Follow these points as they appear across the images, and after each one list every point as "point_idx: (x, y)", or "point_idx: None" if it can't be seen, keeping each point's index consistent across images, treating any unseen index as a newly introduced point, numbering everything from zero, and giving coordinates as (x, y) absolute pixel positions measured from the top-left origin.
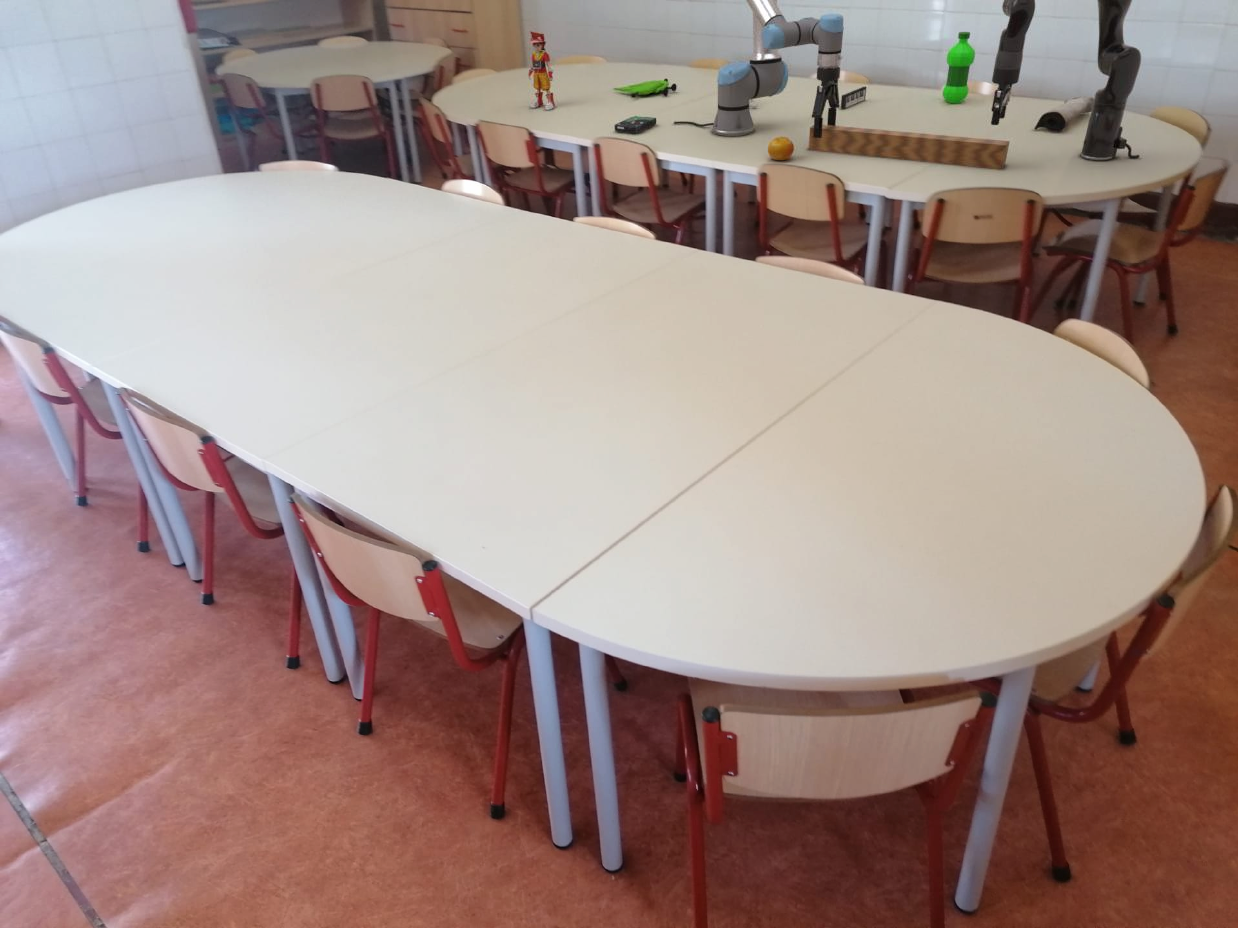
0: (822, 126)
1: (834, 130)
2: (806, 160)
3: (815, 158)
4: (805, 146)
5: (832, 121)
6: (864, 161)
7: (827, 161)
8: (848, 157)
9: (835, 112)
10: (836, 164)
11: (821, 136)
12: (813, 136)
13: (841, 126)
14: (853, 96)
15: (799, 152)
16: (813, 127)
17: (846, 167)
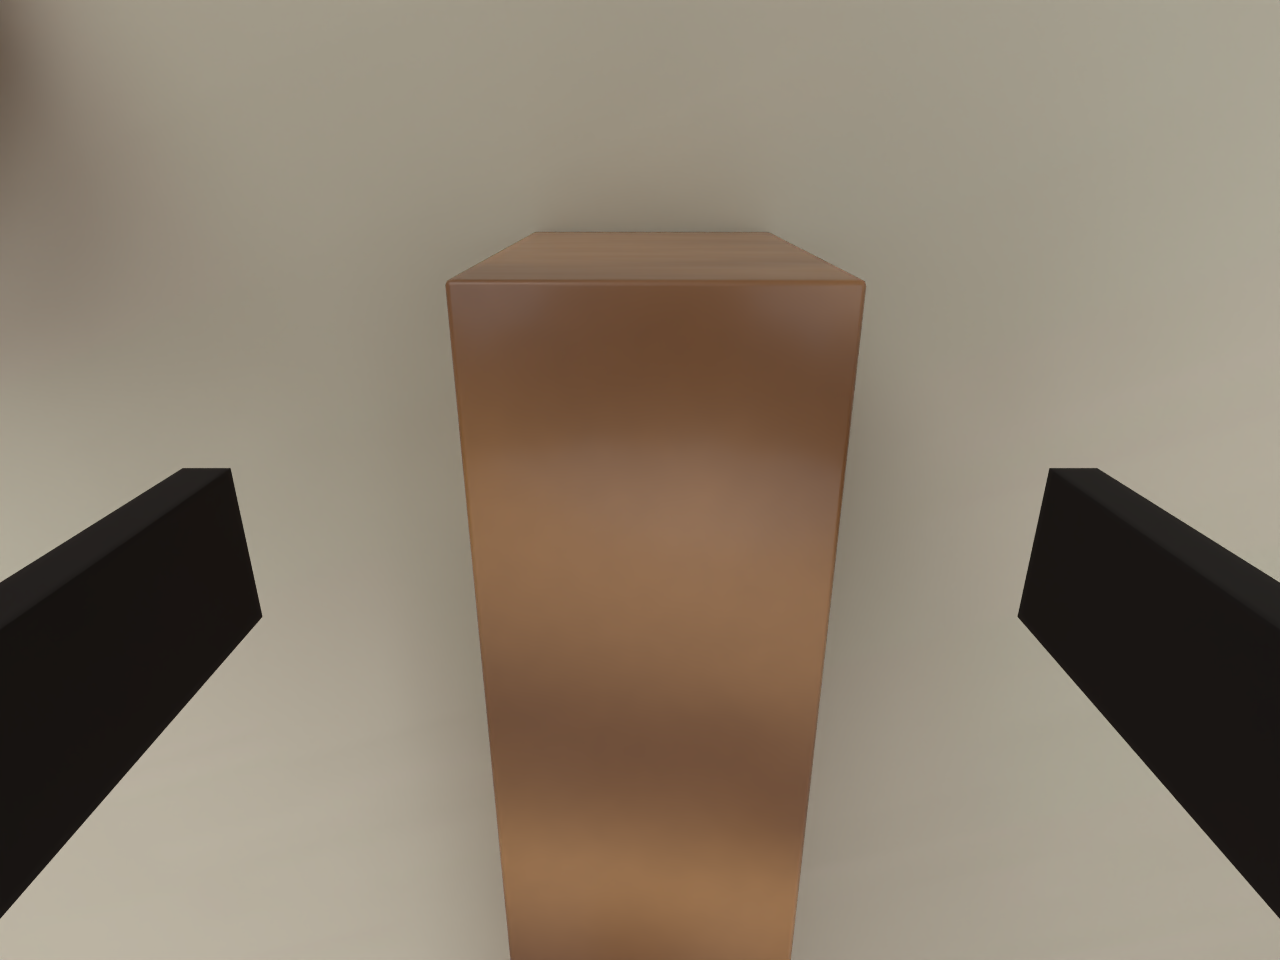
0: (664, 548)
1: (499, 824)
2: (27, 403)
3: None
4: (710, 99)
5: (1113, 649)
6: (373, 947)
7: None
8: (430, 798)
9: (1265, 889)
10: None
11: (239, 630)
12: (168, 481)
13: (787, 873)
14: None
15: (333, 138)
16: (491, 370)
17: (87, 870)
